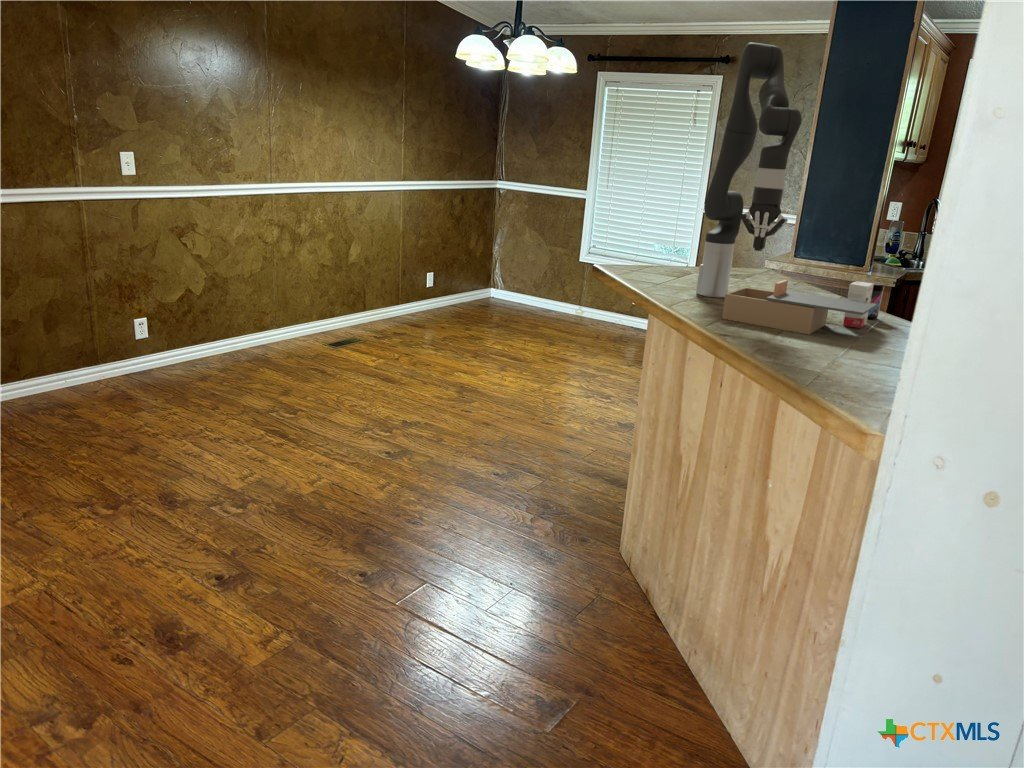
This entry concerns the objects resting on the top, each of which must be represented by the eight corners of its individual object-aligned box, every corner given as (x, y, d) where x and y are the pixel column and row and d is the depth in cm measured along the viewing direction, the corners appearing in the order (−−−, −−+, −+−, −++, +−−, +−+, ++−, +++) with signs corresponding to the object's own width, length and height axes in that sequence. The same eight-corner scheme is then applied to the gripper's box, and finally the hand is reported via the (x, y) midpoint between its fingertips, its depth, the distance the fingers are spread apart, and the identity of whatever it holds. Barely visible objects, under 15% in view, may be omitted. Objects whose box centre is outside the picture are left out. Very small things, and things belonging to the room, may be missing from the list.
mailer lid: (766, 299, 197) (768, 284, 196) (784, 292, 210) (787, 277, 209) (862, 315, 184) (866, 298, 183) (876, 306, 196) (879, 291, 195)
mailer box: (721, 318, 206) (725, 294, 204) (741, 310, 218) (745, 287, 216) (809, 334, 193) (814, 308, 191) (825, 324, 205) (830, 300, 203)
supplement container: (854, 318, 216) (861, 283, 213) (851, 314, 222) (857, 280, 219) (879, 321, 214) (887, 285, 211) (875, 316, 220) (882, 282, 217)
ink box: (860, 329, 202) (868, 286, 199) (841, 325, 205) (849, 284, 202) (867, 324, 209) (875, 283, 206) (848, 321, 212) (856, 280, 208)
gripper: (740, 184, 199) (730, 248, 204) (789, 188, 192) (777, 255, 197) (750, 183, 205) (740, 246, 210) (798, 188, 197) (786, 252, 203)
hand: (758, 250), depth 204 cm, fingers closed
